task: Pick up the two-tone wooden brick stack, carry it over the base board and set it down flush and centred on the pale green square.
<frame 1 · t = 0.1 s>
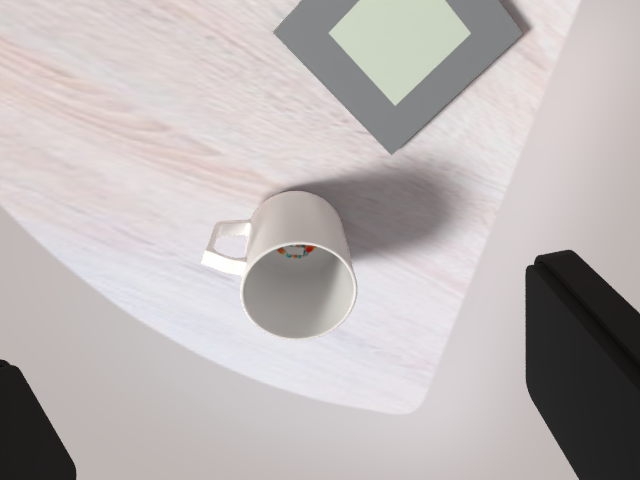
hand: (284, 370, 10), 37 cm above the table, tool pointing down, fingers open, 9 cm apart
mug: (279, 224, 50), on the table
base board: (397, 31, 42), on the table
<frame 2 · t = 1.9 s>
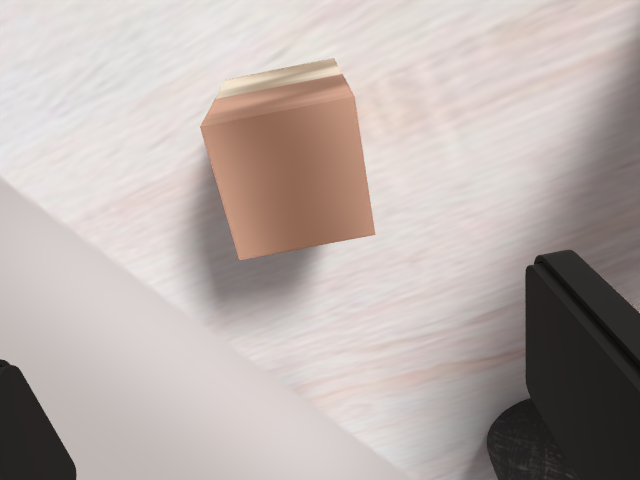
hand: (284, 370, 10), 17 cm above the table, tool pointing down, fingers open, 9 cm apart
brick stack: (290, 122, 25), on the table
travel mug: (536, 432, 36), on the table
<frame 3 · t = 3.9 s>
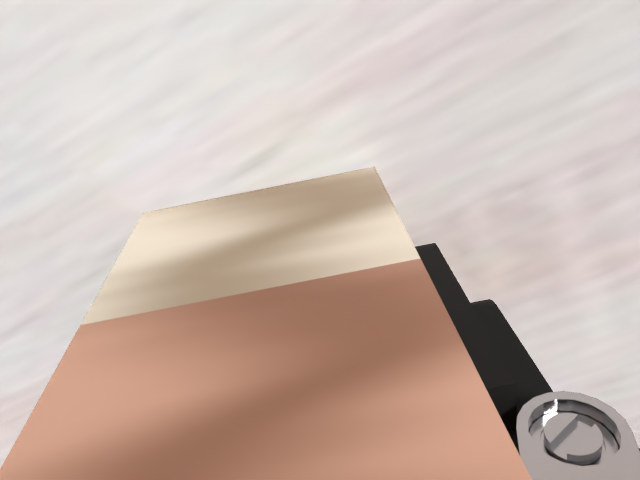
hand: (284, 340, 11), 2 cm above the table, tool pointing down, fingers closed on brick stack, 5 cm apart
brick stack: (283, 288, 12), on the table, touching gripper
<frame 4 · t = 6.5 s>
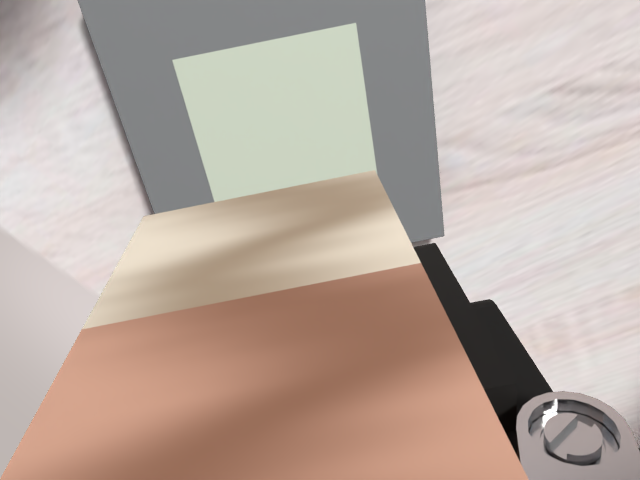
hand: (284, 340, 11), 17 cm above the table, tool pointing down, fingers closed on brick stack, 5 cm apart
brick stack: (283, 290, 12), point 15 cm above the table, touching gripper
base board: (283, 125, 25), on the table
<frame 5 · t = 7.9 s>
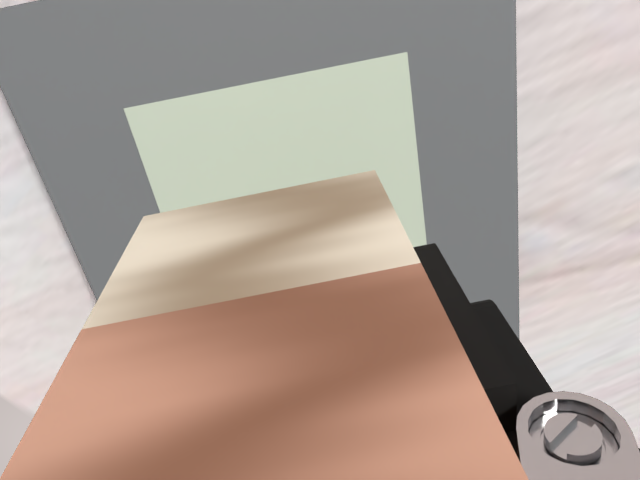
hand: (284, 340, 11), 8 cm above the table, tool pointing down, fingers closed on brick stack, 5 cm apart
brick stack: (283, 290, 12), point 6 cm above the table, touching gripper
base board: (293, 195, 17), on the table
when the fingers open (4 cm above the table, at t = 9.0 s): brick stack drops 1 cm, resting on base board.
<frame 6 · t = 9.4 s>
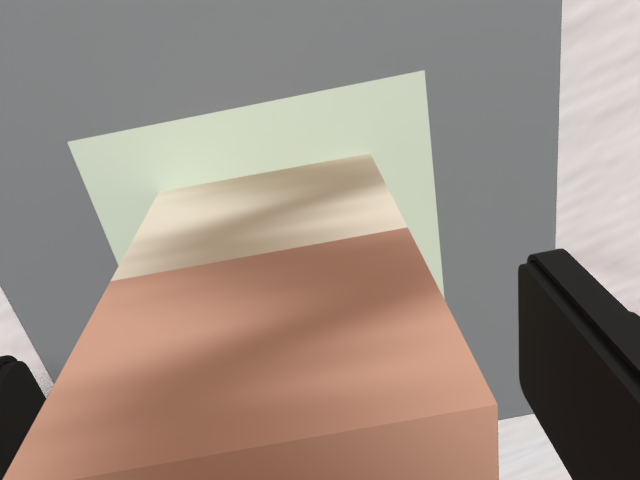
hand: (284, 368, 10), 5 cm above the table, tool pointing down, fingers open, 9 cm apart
brick stack: (285, 264, 13), point 1 cm above the table, touching base board
base board: (282, 240, 14), on the table
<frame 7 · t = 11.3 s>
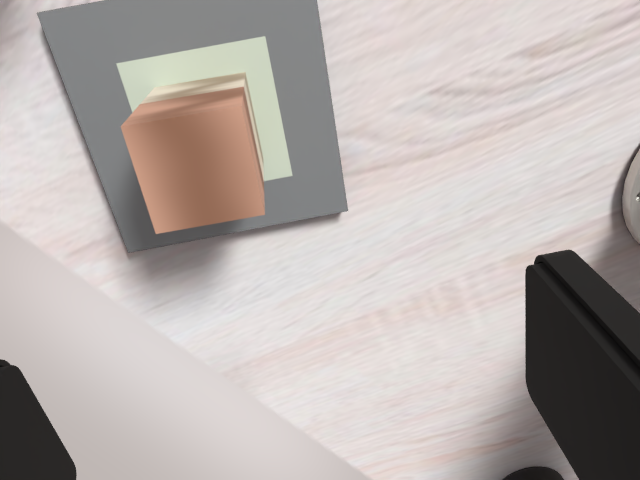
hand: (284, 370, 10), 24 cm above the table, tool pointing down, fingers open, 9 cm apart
brick stack: (211, 124, 30), point 1 cm above the table, touching base board
base board: (211, 117, 31), on the table
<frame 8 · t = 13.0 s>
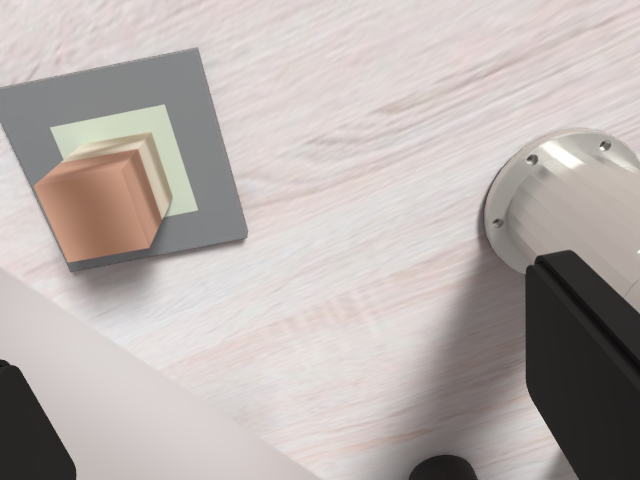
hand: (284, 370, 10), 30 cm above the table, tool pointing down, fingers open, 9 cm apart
brick stack: (128, 171, 38), point 1 cm above the table, touching base board
travel mug: (440, 476, 57), on the table
base board: (131, 165, 39), on the table
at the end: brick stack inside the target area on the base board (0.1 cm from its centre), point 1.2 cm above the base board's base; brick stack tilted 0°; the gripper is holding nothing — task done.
